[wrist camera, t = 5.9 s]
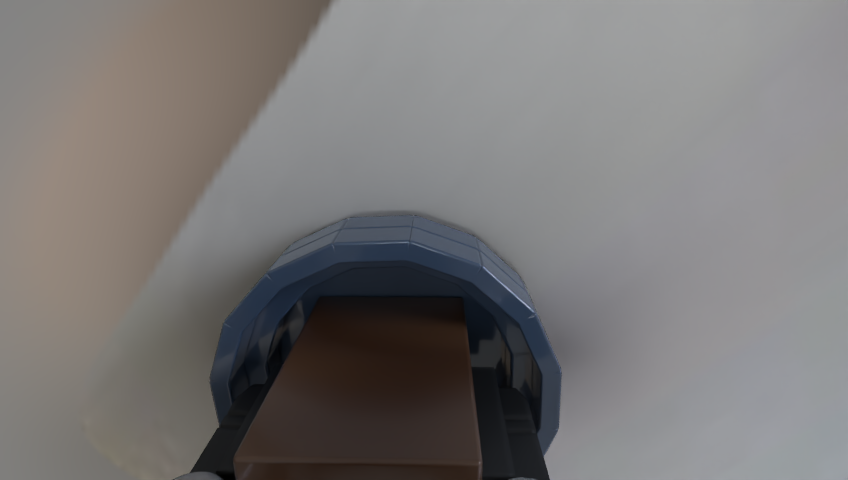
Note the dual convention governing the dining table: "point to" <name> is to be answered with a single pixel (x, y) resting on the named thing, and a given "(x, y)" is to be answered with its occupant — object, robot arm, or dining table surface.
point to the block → (370, 397)
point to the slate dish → (393, 277)
